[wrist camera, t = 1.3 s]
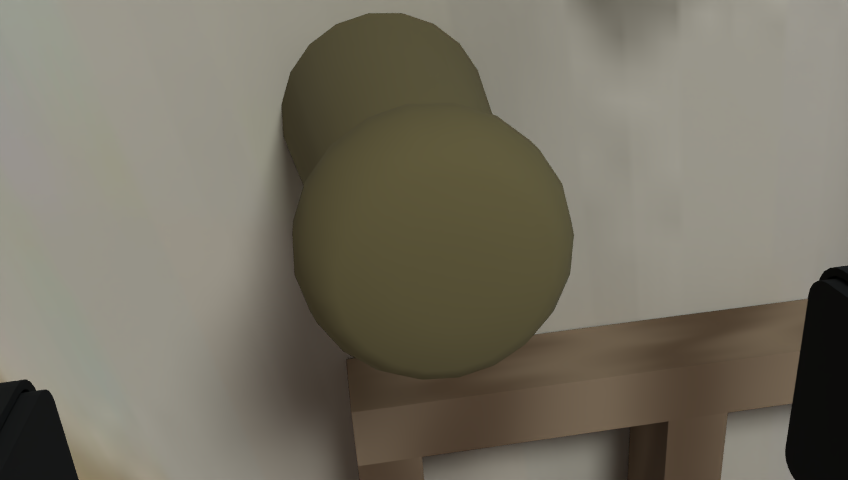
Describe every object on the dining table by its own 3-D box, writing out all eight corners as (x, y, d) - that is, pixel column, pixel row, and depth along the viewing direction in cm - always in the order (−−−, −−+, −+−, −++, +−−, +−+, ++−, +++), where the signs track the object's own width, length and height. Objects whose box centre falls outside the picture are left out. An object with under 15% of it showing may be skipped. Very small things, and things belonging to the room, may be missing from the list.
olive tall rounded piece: (465, 223, 25) (574, 441, 15) (271, 202, 24) (247, 423, 14) (505, 30, 23) (665, 133, 13) (293, -5, 21) (284, 78, 11)
